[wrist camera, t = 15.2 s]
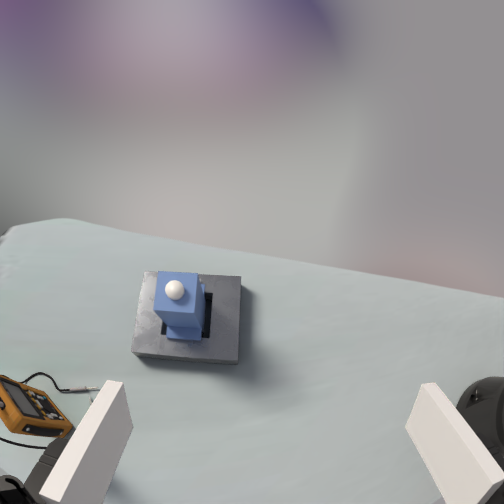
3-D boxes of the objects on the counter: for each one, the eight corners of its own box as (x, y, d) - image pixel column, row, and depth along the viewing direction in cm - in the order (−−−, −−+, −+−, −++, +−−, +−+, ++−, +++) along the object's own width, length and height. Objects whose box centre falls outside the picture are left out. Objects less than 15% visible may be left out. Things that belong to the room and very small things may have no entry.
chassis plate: (240, 284, 47) (241, 273, 44) (237, 364, 41) (238, 358, 38) (148, 279, 47) (143, 268, 44) (136, 355, 40) (129, 349, 37)
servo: (206, 292, 45) (198, 257, 35) (203, 344, 42) (191, 325, 31) (176, 290, 45) (158, 255, 35) (170, 341, 42) (149, 322, 31)
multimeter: (122, 410, 36) (43, 386, 19) (82, 457, 31) (-12, 458, 14) (58, 341, 40) (-23, 280, 23) (22, 385, 35) (-69, 342, 18)
